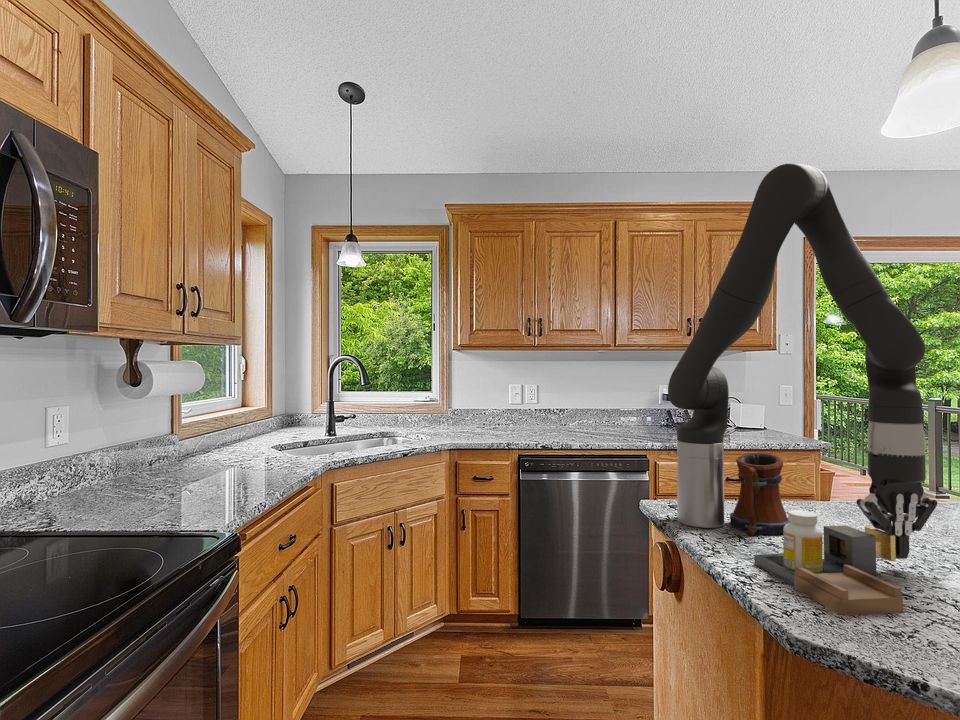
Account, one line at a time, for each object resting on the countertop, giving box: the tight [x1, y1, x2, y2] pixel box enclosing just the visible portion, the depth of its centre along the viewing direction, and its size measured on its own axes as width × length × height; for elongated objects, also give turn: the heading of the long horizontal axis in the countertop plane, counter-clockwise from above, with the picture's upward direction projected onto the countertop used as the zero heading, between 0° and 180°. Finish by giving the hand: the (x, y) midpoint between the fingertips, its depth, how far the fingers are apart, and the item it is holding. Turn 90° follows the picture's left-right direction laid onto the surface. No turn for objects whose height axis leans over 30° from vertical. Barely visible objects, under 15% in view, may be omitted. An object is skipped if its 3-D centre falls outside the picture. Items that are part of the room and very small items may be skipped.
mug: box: [729, 452, 790, 537], centre depth 111 cm, size 18×12×15 cm, turn 141°
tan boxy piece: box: [840, 526, 897, 562], centre depth 88 cm, size 5×6×4 cm
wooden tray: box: [793, 565, 904, 617], centre depth 77 cm, size 9×9×3 cm
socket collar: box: [753, 553, 843, 587], centre depth 87 cm, size 10×10×2 cm
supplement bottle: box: [782, 509, 824, 574], centre depth 87 cm, size 5×5×10 cm
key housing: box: [823, 524, 877, 577], centre depth 88 cm, size 6×4×6 cm, turn 6°
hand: (897, 557), depth 89 cm, fingers closed
